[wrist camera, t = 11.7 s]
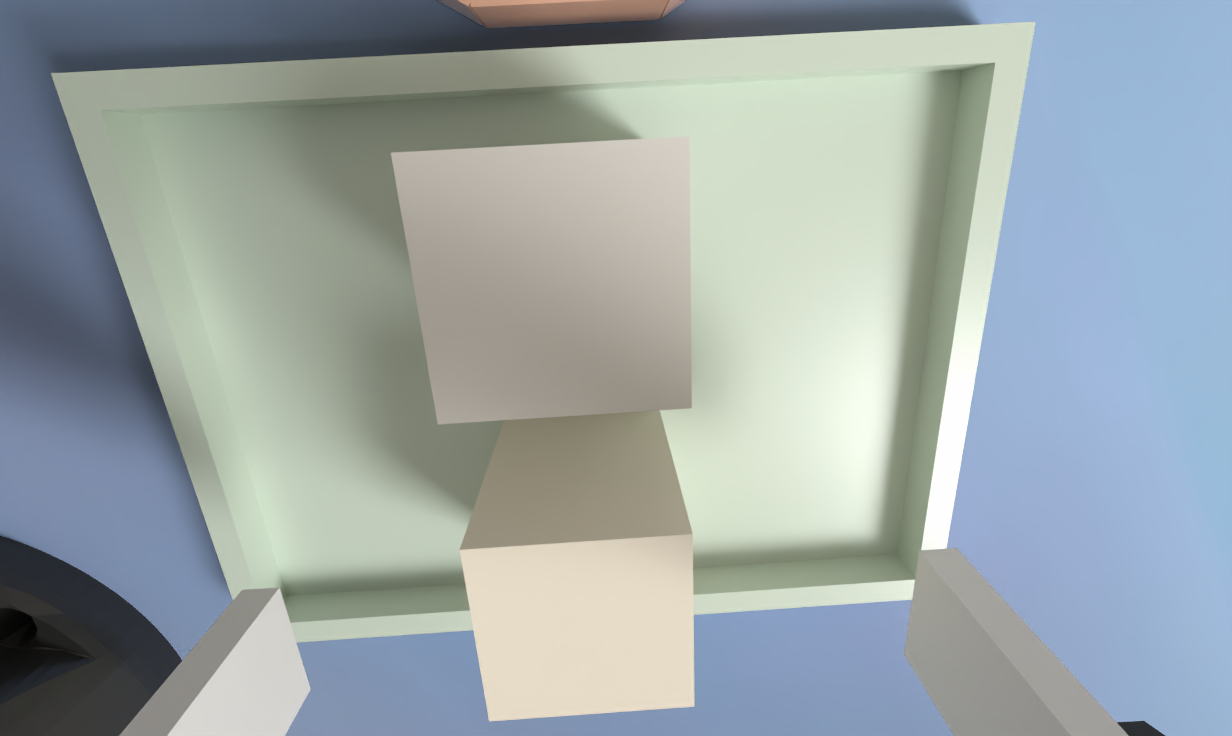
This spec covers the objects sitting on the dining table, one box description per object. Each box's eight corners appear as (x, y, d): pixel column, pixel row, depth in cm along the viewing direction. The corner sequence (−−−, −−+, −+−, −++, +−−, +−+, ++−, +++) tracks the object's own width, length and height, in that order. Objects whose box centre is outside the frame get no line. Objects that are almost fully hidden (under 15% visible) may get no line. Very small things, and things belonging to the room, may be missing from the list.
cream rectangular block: (521, 545, 18) (489, 721, 12) (504, 416, 17) (459, 550, 11) (662, 536, 18) (694, 706, 12) (658, 406, 17) (693, 533, 11)
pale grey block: (493, 328, 16) (438, 424, 10) (471, 155, 14) (390, 152, 8) (656, 318, 16) (691, 408, 10) (651, 145, 14) (689, 136, 9)
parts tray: (274, 609, 19) (248, 645, 17) (107, 82, 14) (50, 73, 12) (912, 565, 19) (937, 597, 18) (990, 36, 14) (1035, 21, 13)
